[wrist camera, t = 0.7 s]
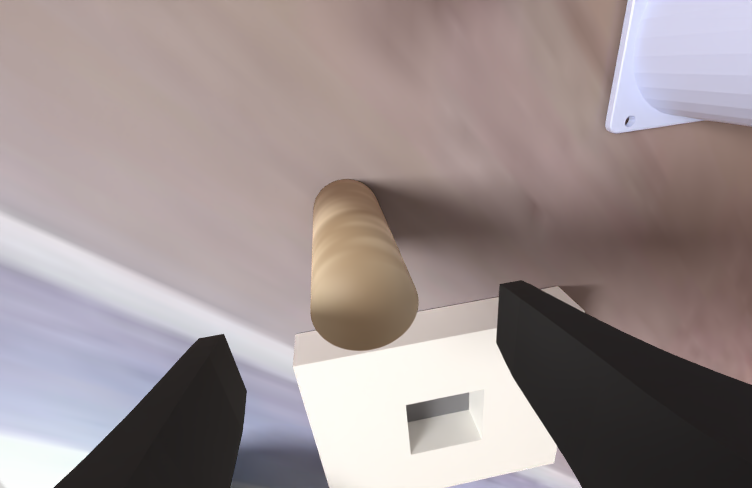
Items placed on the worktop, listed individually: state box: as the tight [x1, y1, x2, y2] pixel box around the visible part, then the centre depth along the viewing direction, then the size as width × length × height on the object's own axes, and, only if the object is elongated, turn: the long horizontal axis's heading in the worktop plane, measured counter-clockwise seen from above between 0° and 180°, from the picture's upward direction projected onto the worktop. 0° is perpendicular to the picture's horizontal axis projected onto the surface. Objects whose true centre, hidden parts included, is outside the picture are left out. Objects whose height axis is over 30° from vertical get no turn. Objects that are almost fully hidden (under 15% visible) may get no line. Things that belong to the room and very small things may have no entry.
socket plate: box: [293, 286, 585, 488], centre depth 23 cm, size 16×14×2 cm
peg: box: [311, 179, 418, 351], centre depth 14 cm, size 3×3×8 cm
